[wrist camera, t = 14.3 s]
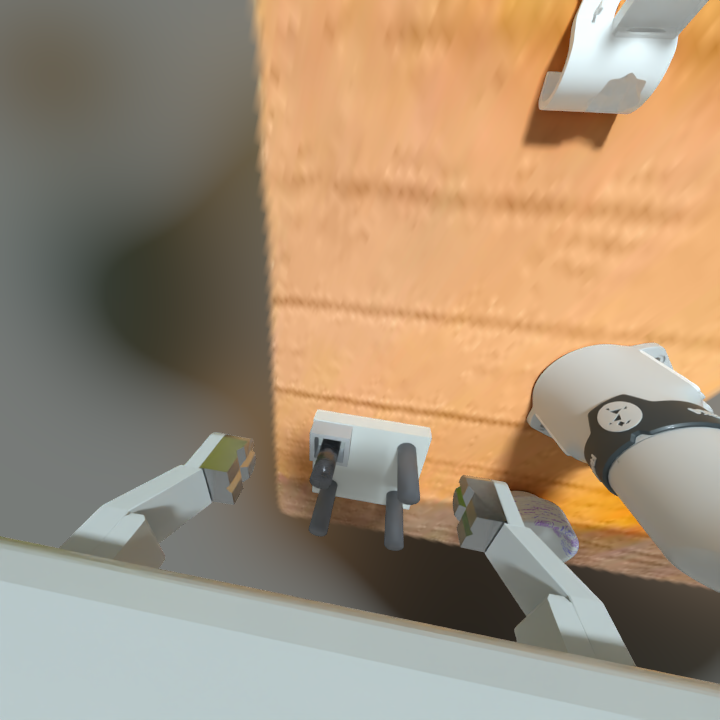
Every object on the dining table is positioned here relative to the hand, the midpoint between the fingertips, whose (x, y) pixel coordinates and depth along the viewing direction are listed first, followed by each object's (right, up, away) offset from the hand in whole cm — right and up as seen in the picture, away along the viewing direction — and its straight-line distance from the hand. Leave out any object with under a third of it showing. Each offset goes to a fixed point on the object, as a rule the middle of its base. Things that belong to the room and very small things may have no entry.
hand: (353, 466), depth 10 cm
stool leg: (-4, -9, +36) cm, 38 cm away
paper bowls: (+31, -25, +43) cm, 59 cm away
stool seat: (+2, -15, +41) cm, 44 cm away
